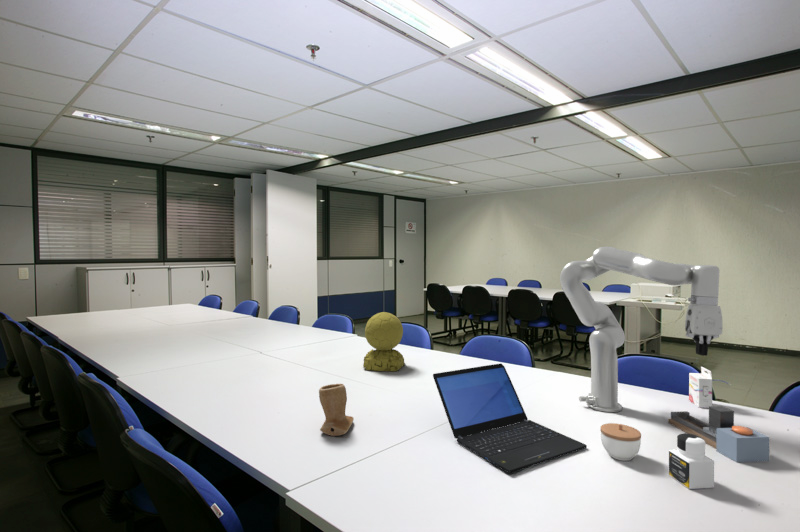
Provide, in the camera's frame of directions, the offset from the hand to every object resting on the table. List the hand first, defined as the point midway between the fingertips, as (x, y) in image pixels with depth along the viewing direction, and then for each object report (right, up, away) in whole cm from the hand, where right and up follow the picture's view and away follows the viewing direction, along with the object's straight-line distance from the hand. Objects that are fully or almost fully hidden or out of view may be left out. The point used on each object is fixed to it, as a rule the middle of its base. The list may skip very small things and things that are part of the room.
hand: (701, 354), depth 141 cm
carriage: (-2, -24, -11) cm, 27 cm away
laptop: (-68, -27, -5) cm, 74 cm away
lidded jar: (-37, -27, -18) cm, 49 cm away
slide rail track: (-2, -26, -4) cm, 26 cm away
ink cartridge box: (+18, -26, +25) cm, 40 cm away
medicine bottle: (-27, -27, -33) cm, 50 cm away
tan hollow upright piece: (-126, -27, +3) cm, 129 cm away
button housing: (-1, -26, -18) cm, 32 cm away
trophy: (-112, -25, +87) cm, 144 cm away
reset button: (-1, -22, -18) cm, 29 cm away
